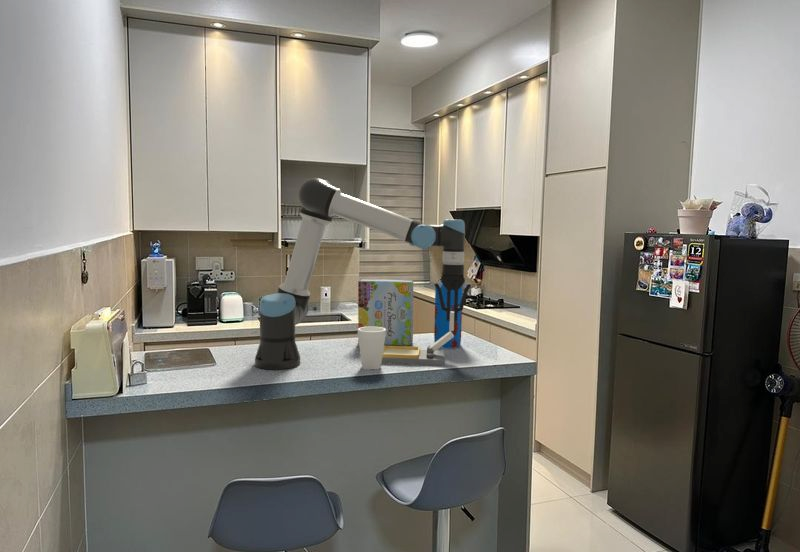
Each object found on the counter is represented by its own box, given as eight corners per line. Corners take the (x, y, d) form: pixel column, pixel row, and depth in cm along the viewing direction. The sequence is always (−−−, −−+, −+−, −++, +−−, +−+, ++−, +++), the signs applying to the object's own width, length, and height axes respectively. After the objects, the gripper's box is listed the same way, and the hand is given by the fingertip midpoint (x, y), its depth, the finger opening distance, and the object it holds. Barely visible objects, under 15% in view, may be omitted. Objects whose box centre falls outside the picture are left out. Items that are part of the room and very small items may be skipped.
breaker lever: (425, 351, 190) (450, 332, 189) (425, 348, 195) (449, 329, 194) (429, 356, 190) (454, 337, 189) (429, 353, 195) (453, 335, 194)
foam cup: (381, 371, 176) (382, 332, 175) (354, 369, 178) (354, 331, 177) (387, 364, 185) (388, 327, 184) (361, 362, 187) (362, 325, 186)
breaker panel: (369, 362, 187) (369, 353, 187) (374, 353, 201) (374, 344, 201) (444, 365, 185) (444, 356, 185) (443, 355, 199) (444, 347, 199)
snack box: (413, 342, 222) (414, 279, 219) (410, 346, 213) (412, 282, 210) (361, 339, 225) (362, 278, 222) (357, 344, 216) (357, 280, 214)
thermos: (430, 342, 221) (431, 282, 218) (454, 341, 224) (456, 281, 221) (440, 348, 210) (441, 285, 208) (465, 347, 213) (467, 284, 211)
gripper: (434, 264, 186) (433, 331, 188) (472, 264, 185) (470, 332, 187) (434, 262, 193) (433, 327, 195) (471, 263, 192) (469, 328, 194)
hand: (451, 330), depth 191 cm, fingers closed
